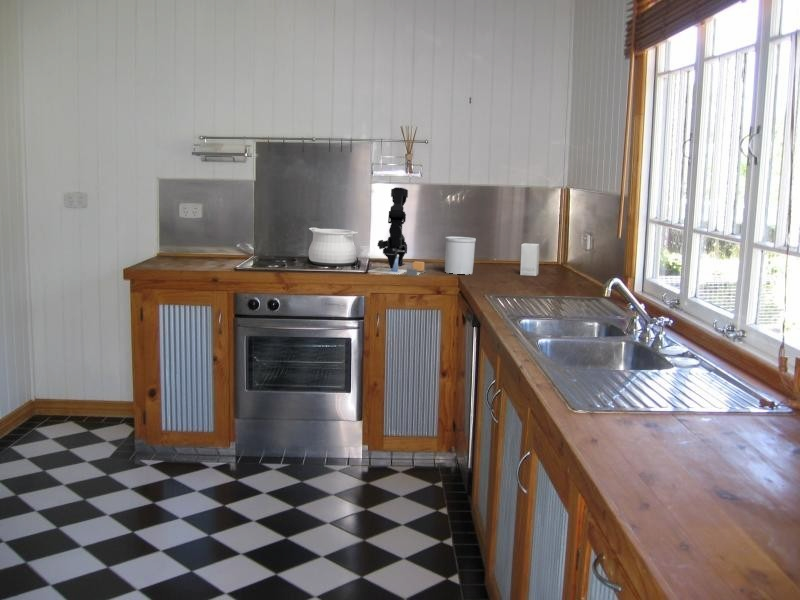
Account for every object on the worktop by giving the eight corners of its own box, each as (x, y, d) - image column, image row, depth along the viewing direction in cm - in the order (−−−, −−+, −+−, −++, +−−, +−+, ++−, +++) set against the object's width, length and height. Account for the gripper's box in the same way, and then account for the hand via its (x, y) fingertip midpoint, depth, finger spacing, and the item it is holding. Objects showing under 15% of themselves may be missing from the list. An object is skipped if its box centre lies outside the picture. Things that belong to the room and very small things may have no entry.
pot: (295, 263, 448) (296, 228, 445) (324, 259, 468) (325, 226, 466) (340, 269, 433) (342, 233, 430) (368, 264, 454) (369, 230, 451)
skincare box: (538, 274, 442) (540, 243, 439) (536, 276, 436) (538, 245, 433) (521, 273, 444) (523, 242, 442) (519, 275, 438) (521, 243, 436)
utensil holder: (448, 270, 446) (450, 235, 443) (477, 272, 441) (479, 237, 438) (439, 273, 432) (441, 237, 429) (469, 276, 427) (471, 240, 424)
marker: (392, 270, 431) (393, 253, 430) (398, 271, 430) (399, 254, 429) (390, 271, 428) (390, 254, 427) (396, 271, 427) (397, 255, 426)
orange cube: (415, 269, 433) (415, 261, 432) (424, 270, 432) (424, 262, 431) (412, 270, 429) (413, 262, 429) (421, 271, 428) (421, 262, 427)
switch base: (415, 271, 435) (416, 265, 434) (425, 272, 433) (425, 266, 433) (406, 274, 422) (406, 268, 421) (416, 275, 420) (416, 269, 420)
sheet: (378, 268, 441) (378, 267, 441) (409, 271, 436) (409, 270, 436) (367, 271, 427) (367, 270, 427) (398, 274, 422) (398, 273, 422)
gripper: (387, 232, 437) (385, 263, 440) (373, 235, 420) (372, 267, 423) (408, 234, 434) (406, 265, 436) (395, 237, 416) (393, 269, 419)
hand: (394, 267), depth 429 cm, fingers open, 9 cm apart
